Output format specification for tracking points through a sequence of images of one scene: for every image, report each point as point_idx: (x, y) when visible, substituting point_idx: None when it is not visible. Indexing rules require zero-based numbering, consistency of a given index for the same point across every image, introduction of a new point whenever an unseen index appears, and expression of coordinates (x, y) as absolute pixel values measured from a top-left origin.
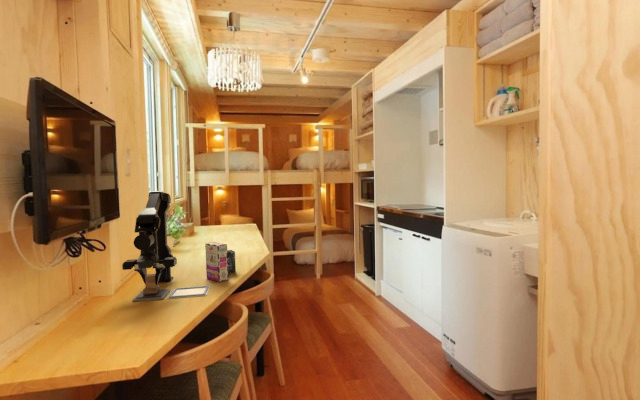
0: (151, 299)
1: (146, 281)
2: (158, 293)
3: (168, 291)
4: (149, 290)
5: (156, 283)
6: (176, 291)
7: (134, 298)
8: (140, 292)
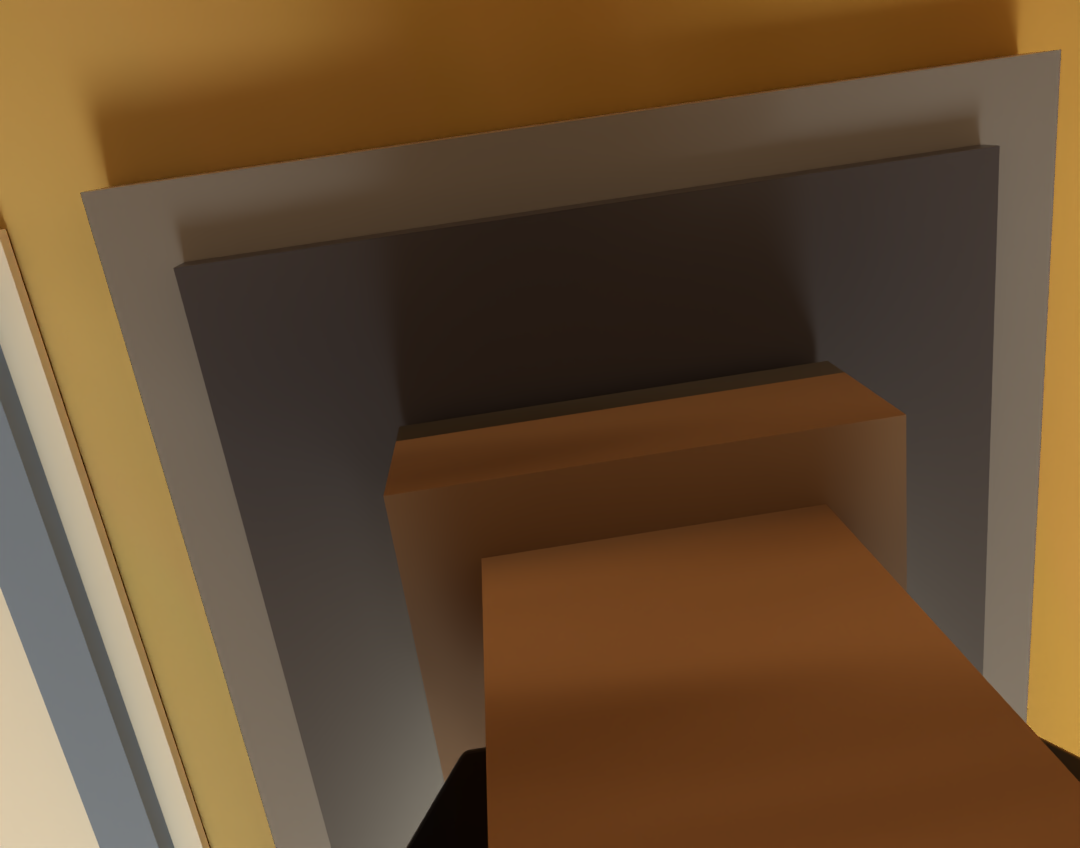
0: (465, 137)
1: (925, 690)
2: None
3: (264, 788)
4: (649, 433)
5: (465, 772)
6: (74, 824)
7: (1026, 187)
8: None
